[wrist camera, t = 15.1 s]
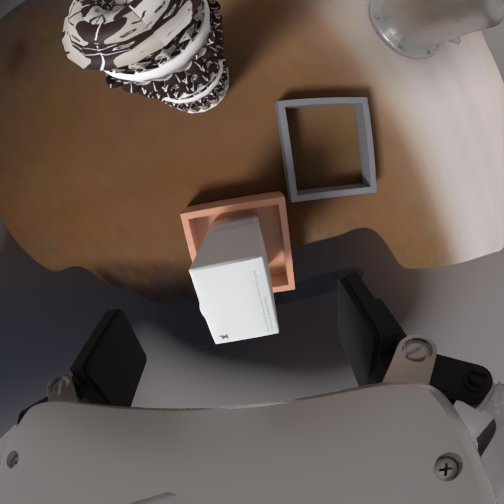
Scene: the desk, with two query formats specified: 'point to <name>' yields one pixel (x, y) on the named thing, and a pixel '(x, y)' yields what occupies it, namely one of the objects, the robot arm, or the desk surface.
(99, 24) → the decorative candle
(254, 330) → the skincare box
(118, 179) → the desk surface
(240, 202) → the terracotta bin
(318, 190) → the frame
